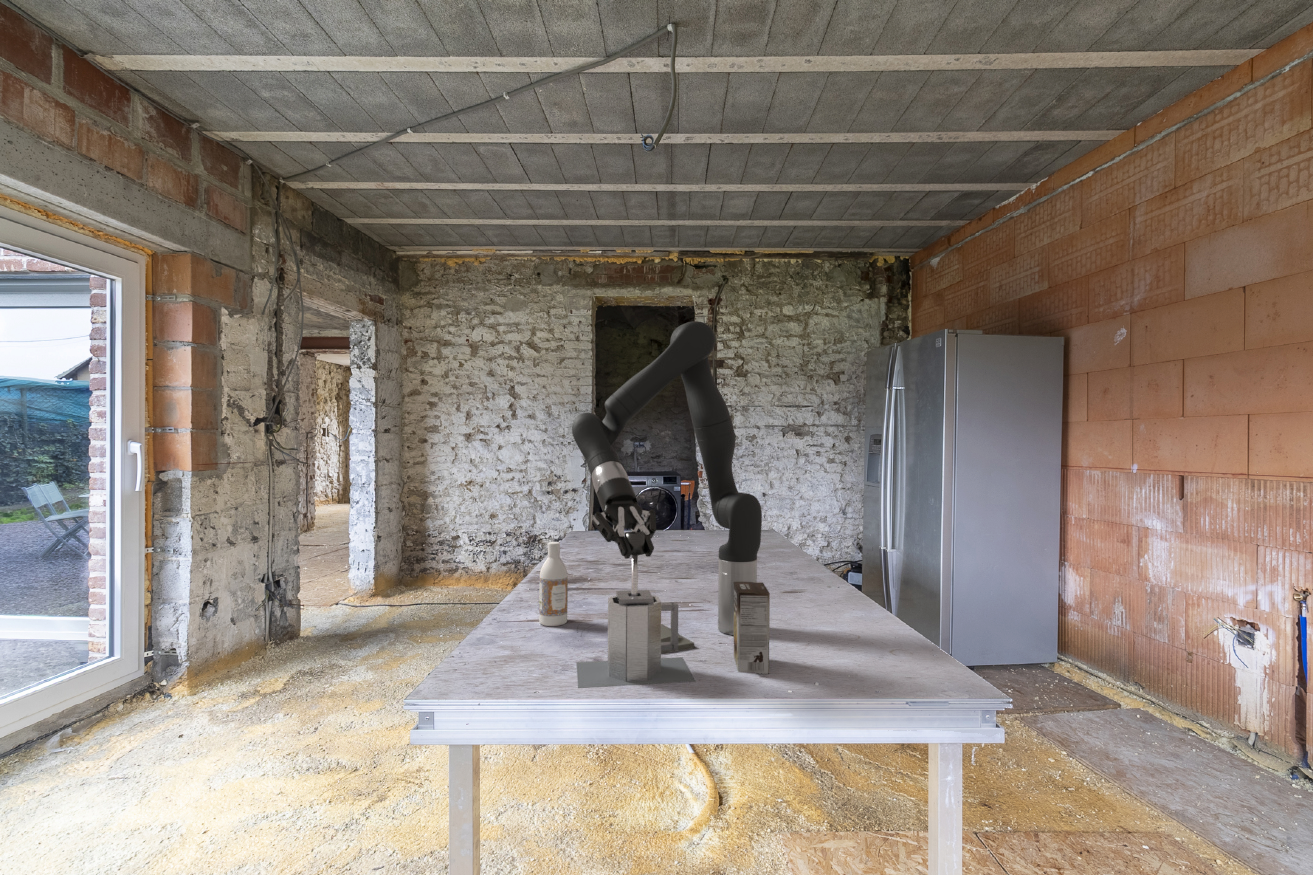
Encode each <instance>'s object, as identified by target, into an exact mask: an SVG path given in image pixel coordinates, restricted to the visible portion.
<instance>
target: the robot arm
mask: <svg viewBox="0 0 1313 875" xmlns="http://www.w3.org/2000/svg"><path fill="white" fill-rule="evenodd" d="M669 342H670V343H669V345H668V347H666V348H665V350H664V351H663V352H661V354H660V355H659V356H657V358H655V359H654V360H653V361H652V362H651V363H649V364H648V365H647V366H645V367H644V368H643V369H642V370H640V371H639V372H637V373H636V374H634V375H633V376H632V377H631V378H629V379H628V380H627V381H626V382H625V383H623V385H621V386H620V387H619V388H618V389H616V391H614V392H613V393H612V394H611V395H610V396H609V397H608V398H607V399H606V400H605V402H604V408H605V411H606V414H605V416H604V418H603V419H601V418H600V417H598V416H597V415H596V414H595V413H593V412H583V413H580V414H579V415H577V416H576V417H575V419H574V420H573V422H572V426H571V432H572V437H573V441H574V442H575V443H576V445H577V448H578V449H579V451H580V452H581V455H582V456H583V458H584V460H585V462H586V464H587V465H586V466H587V468H588V471H589V474H590V476H591V479H592V485H593V488H594V491H595V494H596V497H597V498H598V499H597V500H598V503H599V505H600V508H601V510H602V512H600V511H596V512H595V514H594V516H593V518H592V521H591V522H592V524H593V525H594V526H595V528H596V529H597V530H598V532H599V533H600V535H601V536H602V537H603V539H604V540H605V541H606V542H607V543H610V542H615V544H617V546H618V549H619V552H620V555H621V556H623V557H624V559H630V557H632V555H631V554H632V551H631V548H630V545H629V543H628V540H627V538H626V537H625V530H626V529H627V530H631V531H630V532H632V531H638V532H645V554H644V555H645V557H651V556H652V554H653V551H655V547H654V544H653V542H652V538H653V537H654V536H655V533H656V532H657V520H656V518H657V516H656V515H657V514H656V510H655V509H653V508H651V509H650V510H643V508H642V507H641V506H640V505H639V503H638V500H637V495H636V492H635V490H634V488H633V485H632V483H631V481H630V478H629V476H628V473H627V472H626V470H625V469H624V467H623V465H622V462H621V460H620V457H619V455H618V453H617V451H616V450H615V449H614V447H613V445H614V444H615V442H616V441H617V440H618V439H619V436H620V435H621V433H622V432H623V431H624V430H625V428H626V425H627V424H628V423H629V421H630V420H632V419H633V418H634V417H635V416H636V415H638V413H639V412H641V411H642V410H643V409H644V408H645V407H646V406H647V405H648V404H649V403H650V402H651V401H652V400H653V399H654V398H656V396H657V395H658V394H659V393H660V392H661V391H663V389H665V387H667V386H668V385H669V384H671V382H673V381H674V380H676V378H677V377H679V376H681V380H682V383H683V385H684V389H685V390H684V391H685V395H686V399H687V400H686V401H687V406H688V409H689V414H690V418H691V422H692V427H693V431H694V435H695V438H696V443H697V445H698V449H699V452H700V457H701V460H702V464H703V468H704V471H705V475H706V480H707V486H708V493H709V499H710V505H711V511H712V515H713V518H714V520H715V521H716V523H717V524H718V525H719V526H720V527H722V528H724V529H726V530H727V529H728V540H727V542H726V543H723V544H722V545H720V546H719V548H718V590H717V591H718V592H717V594H718V596H717V598H718V602H717V603H718V605H717V609H718V610H717V611H718V612H717V613H718V614H717V618H718V619H717V626H718V627H717V628H718V629H717V630H718V631H719V632H721V633H723V634H725V635H730V636H734V582H758V553H759V550H760V547H761V543H762V542H761V539H762V521H763V513H762V512H763V511H762V506H761V503H760V501H759V499H758V498H757V497H756V496H754V495H753V494H750V493H745V492H739V491H738V490H739V489H738V488H737V485H736V482H735V477H734V473H733V459H734V455H735V454H734V453H735V449H736V448H735V447H736V433H735V432H736V431H735V428H734V425H733V420H732V417H731V413H730V410H729V408H728V405H727V403H726V401H725V399H724V397H723V395H722V393H721V392H720V389H719V388H718V386H717V384H716V382H715V380H714V377H713V374H712V370H711V364H710V360H709V356H710V354H711V353H712V352H713V351H714V348H715V345H716V336H715V332H714V330H713V329H712V327H711V326H709V324H707V323H705V322H703V321H698V320H697V321H696V320H692V321H687V322H686V323H682V324H681V325H678V327H676V328H675V329H674V330H673V332H672V334H671V336H670V341H669Z"/></svg>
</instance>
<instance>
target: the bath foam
mask: <svg viewBox="0 0 1313 875" xmlns="http://www.w3.org/2000/svg"><path fill="white" fill-rule="evenodd" d="M547 556H548V557H547V558H546V560H545V561H544V563H543V564H542V567H541V568H540V571H539V572H540V573H539V586H538V587H539V589H538V590H539V594H538V595H539V599H538V600H539V604H538V605H539V606H538V610H539V611H538V612H539V613H538V616H539V617H538V618H539V619H538V622H539V624H540V625H542V626H543V627H544V626H545V627H558V626H563V625H565V624H566V623H567V622H568V609H569V608H568V606H569V605H568V604H569V603H568V597H569V596H568V594H569V593H568V592H569V588H568V587H569V586H568V584H569V581H568V580H569V578H568V577H569V575H568V574H569V573H568V569H567V566H566V564H565V563H564V561H563V560H562V558H561V543H560V542H559V541H549V542H548V543H547Z"/></svg>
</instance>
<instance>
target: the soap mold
mask: <svg viewBox="0 0 1313 875" xmlns="http://www.w3.org/2000/svg"><path fill="white" fill-rule="evenodd" d="M661 642H671V627H668V626H667V625H665V624H663V623H661ZM695 648H696V645H695V642H694V641H691V640H690V639H689V638H687V637H684V636H683V635H682V634H679V632H678V650H675V651H661V655H662V654H667V653H672V652H679V651H684V650H690V649H691V650H692V649H695Z"/></svg>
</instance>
